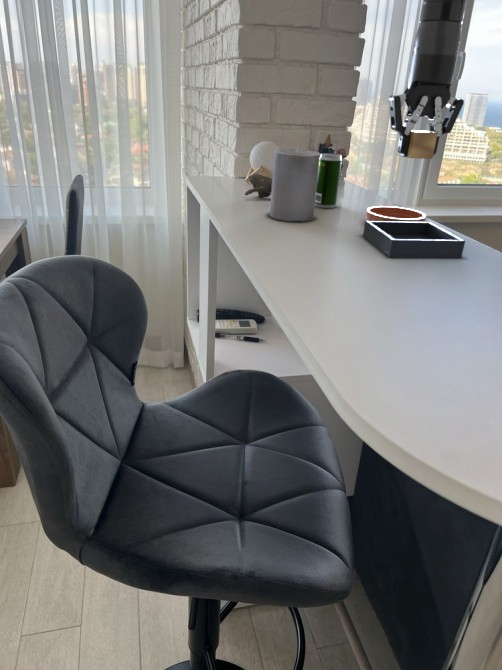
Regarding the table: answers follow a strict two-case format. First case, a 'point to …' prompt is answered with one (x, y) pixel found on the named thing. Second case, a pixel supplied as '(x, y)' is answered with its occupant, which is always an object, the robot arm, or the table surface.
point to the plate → (394, 214)
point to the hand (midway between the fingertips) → (415, 156)
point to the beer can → (328, 180)
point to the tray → (413, 239)
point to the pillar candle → (294, 184)
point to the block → (422, 144)
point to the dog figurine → (260, 185)
